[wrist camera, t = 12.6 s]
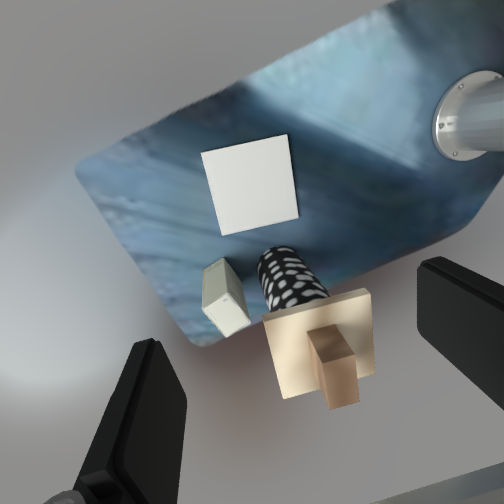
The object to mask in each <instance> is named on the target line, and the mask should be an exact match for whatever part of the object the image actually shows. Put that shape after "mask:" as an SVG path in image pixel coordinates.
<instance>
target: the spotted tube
mask: <svg viewBox="0 0 504 504" xmlns="http://www.w3.org/2000/svg"><path fill="white" fill-rule="evenodd" d="M257 274H258V277H259V280H260V283H261V286H262V290H263V293H264V296H265V299H266V302H267V305H268V308H269V311H270V313H271V312H275V311H279V310H282V309H286V308H290V307H294V306H297V305H301V304H305V303H309V302H312V301H316V300H320V299H324V298H327V297H331V295H330V294H329V293H328V291H327V290H326V289H325V287H324V286H323V285H322V284H321V282H320V281H319V280H318V278H317V277H316V276H315V275H314V273H313V272H312V271H311V269H310V268H309V267H308V266H307V264H306V263H305V262H304V260H303V259H302V258H301V257H300V255H299V254H298V253H297V252H296V251H295V250H294V249H292V248H290V247H286V246H277V247H273V248H271V249H269V250H267V251H266V252H265V253H264V254H263V255H262V256H261V257H260V259H259V261H258V264H257Z"/></svg>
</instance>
